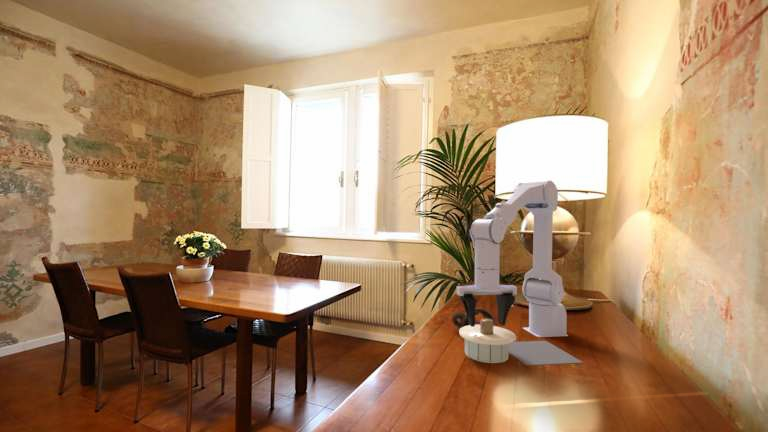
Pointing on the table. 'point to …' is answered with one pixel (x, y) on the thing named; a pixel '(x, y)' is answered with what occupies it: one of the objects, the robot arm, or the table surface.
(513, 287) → the robot arm
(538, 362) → the mat
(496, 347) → the bowl
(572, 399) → the table surface
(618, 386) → the table surface
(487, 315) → the dark brown rounded loops
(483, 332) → the lid
